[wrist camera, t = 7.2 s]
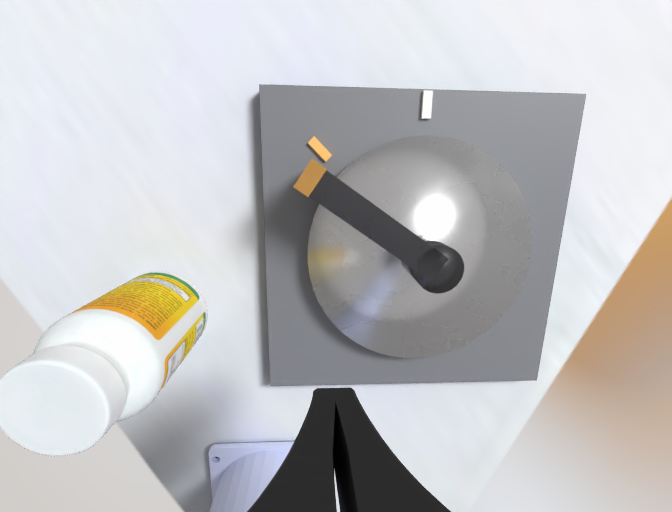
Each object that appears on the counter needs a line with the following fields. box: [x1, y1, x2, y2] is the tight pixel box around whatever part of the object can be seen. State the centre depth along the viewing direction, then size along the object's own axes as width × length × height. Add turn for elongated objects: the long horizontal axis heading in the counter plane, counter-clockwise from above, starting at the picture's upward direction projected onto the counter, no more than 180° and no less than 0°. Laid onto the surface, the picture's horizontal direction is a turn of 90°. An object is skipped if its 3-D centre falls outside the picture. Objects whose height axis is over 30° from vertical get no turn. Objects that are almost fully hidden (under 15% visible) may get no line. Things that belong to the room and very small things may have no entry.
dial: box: [293, 136, 532, 358], centre depth 18 cm, size 14×13×4 cm
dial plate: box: [259, 84, 586, 386], centre depth 21 cm, size 18×18×1 cm
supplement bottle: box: [0, 271, 208, 456], centre depth 17 cm, size 5×5×10 cm
